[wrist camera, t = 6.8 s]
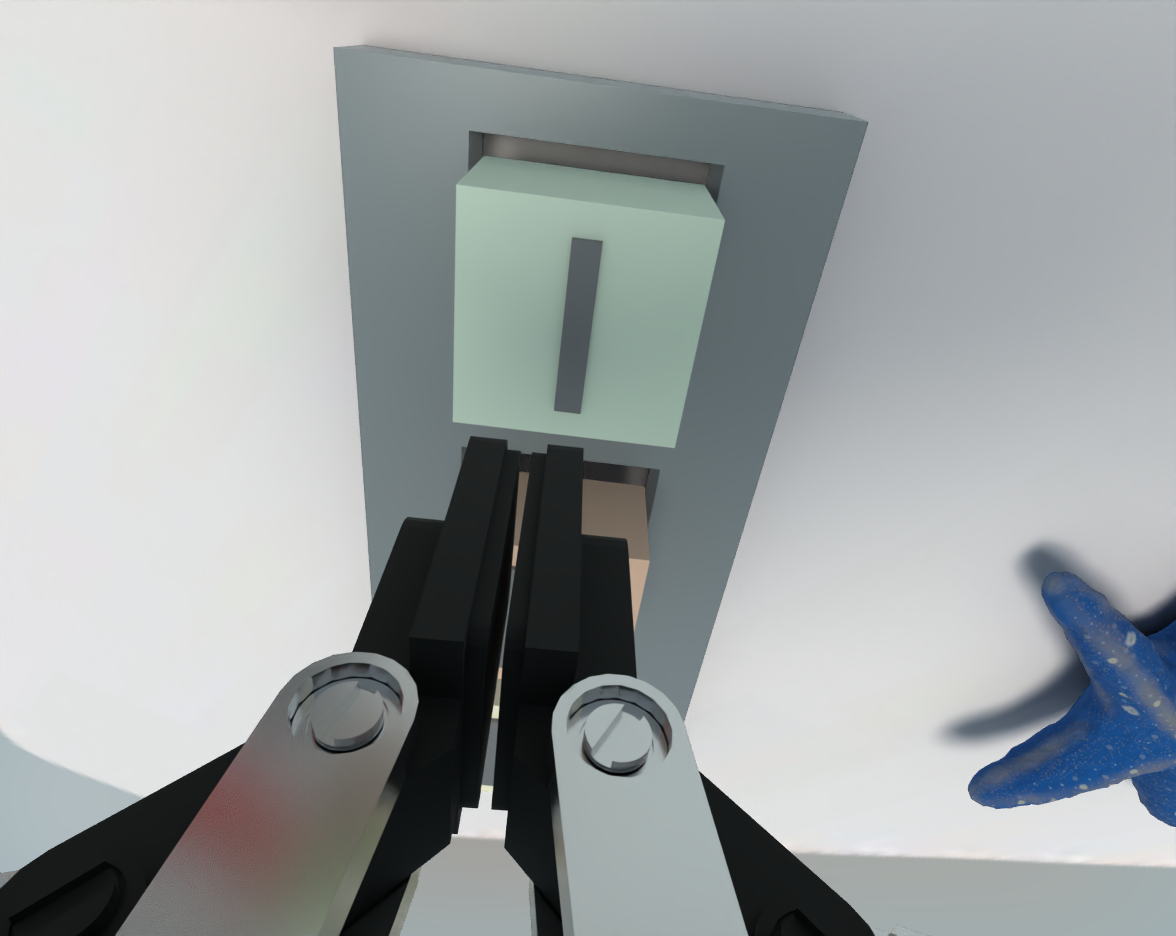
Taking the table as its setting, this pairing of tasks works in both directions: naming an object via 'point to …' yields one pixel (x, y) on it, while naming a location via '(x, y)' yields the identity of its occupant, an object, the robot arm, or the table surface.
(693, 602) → the board
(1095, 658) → the starfish
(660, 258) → the tile one
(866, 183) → the table surface
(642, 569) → the tile two
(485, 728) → the robot arm
